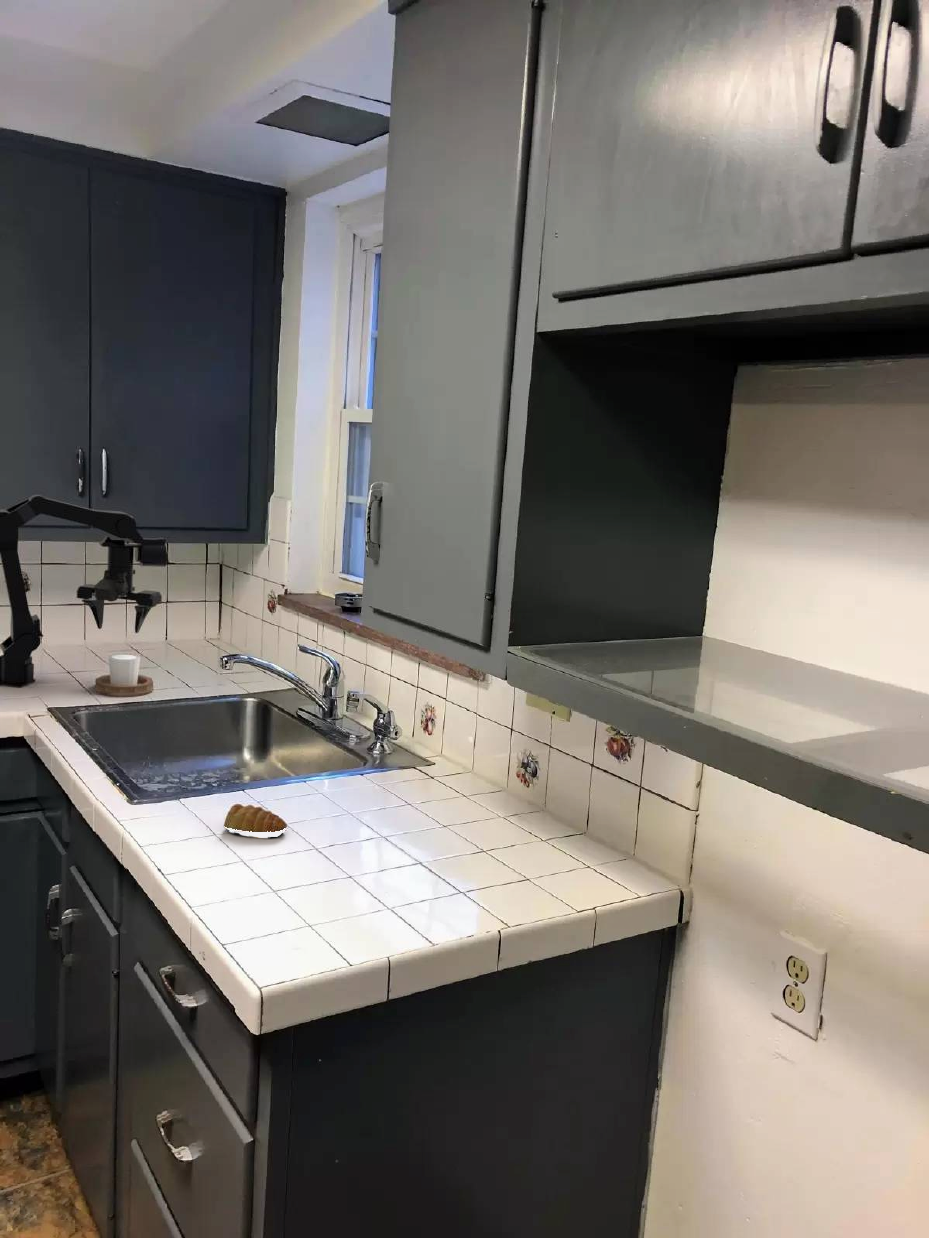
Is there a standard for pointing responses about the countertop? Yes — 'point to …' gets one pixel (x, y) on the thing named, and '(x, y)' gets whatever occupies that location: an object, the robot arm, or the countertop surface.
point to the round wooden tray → (124, 687)
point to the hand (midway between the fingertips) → (118, 630)
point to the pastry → (253, 819)
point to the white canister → (124, 669)
